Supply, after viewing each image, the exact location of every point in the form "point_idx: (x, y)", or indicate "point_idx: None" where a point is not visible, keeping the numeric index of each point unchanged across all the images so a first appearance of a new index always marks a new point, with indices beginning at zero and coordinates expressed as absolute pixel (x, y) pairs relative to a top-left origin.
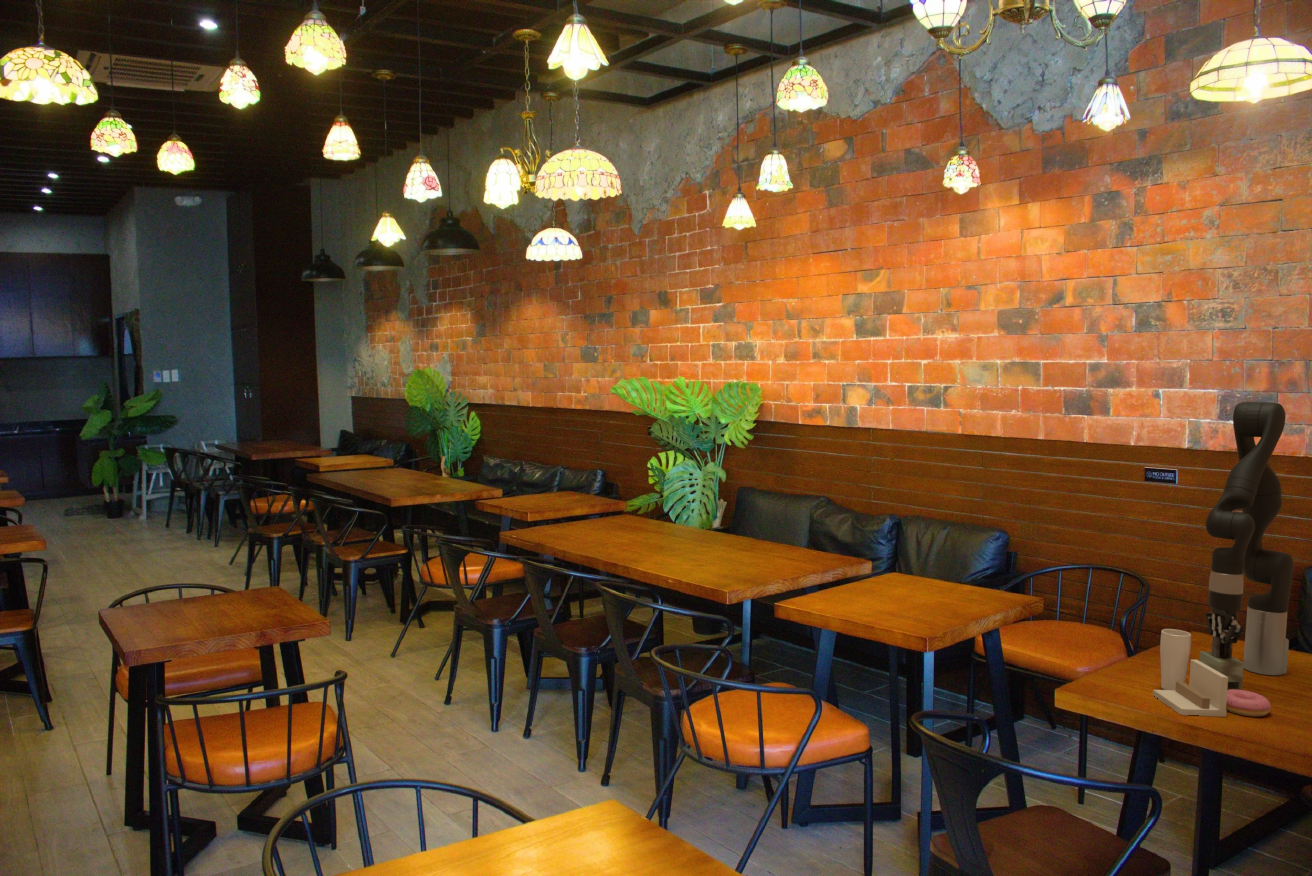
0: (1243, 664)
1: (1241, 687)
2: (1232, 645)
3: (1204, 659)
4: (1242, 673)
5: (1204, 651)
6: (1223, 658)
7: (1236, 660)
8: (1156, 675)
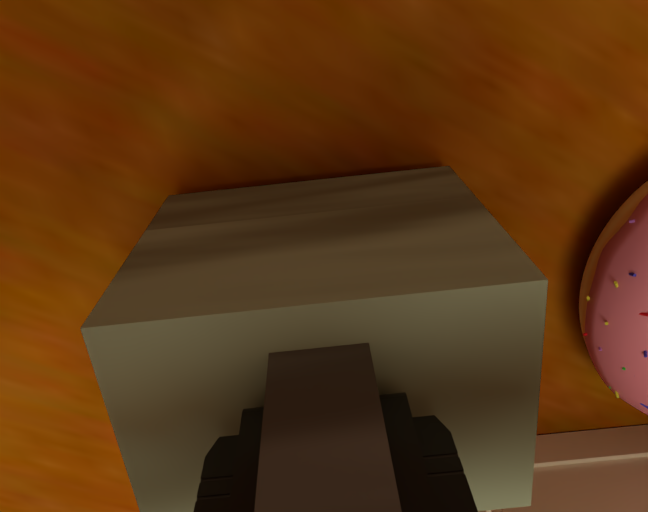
0: (537, 270)
1: (460, 184)
2: (391, 469)
3: None
4: (499, 230)
5: (139, 508)
6: None
7: (456, 324)
8: (94, 502)
